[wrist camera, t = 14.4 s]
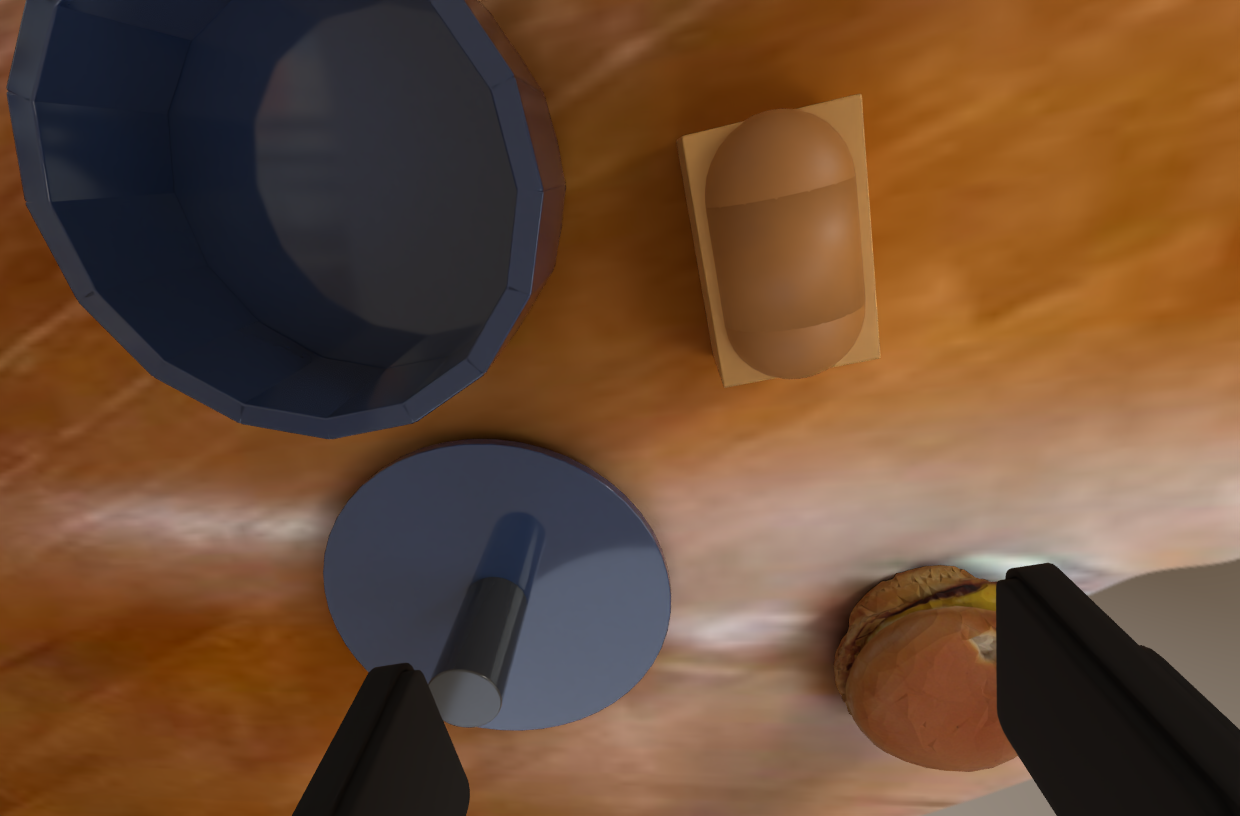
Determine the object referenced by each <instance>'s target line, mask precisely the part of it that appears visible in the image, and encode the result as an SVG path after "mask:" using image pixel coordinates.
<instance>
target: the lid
mask: <svg viewBox="0 0 1240 816" xmlns="http://www.w3.org/2000/svg"><path fill="white" fill-rule="evenodd" d="M323 576H324V589H325V595H326V599H327V603H328V607H329V611H330V613H331V616H332V618H333V621H334V623H335V626H336V628H337V630H338V632H339V633H340V635H341V637H342V639H343V641H344V642H345V644H346V646H347V647H348V648H349V650H350V651H351V652H352V654H353V655H354V656H355V658H356V659H357V660H358V661H359V662H360V664H361V665H362V666H363V667H364V668H365V669H366V670H367V671H368V672H370V671H371V670H372V669H373V668H375V667H380V666H386V665H393V664H399V663H409V664H410V665H412V667H413V669H414V670H420V671H421V672H422V673H423V674H424V676H425V679H426V681H427V684H428V686H429V688H430V691H431V693H432V695H433V698H434V700H435V703H436V705H437V707H438V710H439V712H440V715H441V717H442V719H443V721H445V722H447V723H449V724H451V725H454V726H459V727H467V728H471V727H479V728H487V729H496V730H534V729H544V728H549V727H554V726H560V725H564V724H567V723H570V722H574V721H577V720H580V719H583V718H585V717H587V716H590V715H592V714H595V713H597V712H599V711H601V710H602V709H604V708H606V707H608V706H609V705H611V704H613V703H614V702H616V701H617V700H618V699H620V698H621V697H622V696H624V695H625V694H626V693H628V692H629V691H630V690H631V689H632V688H633V687H634V686H635V685H636V684H637V683H638V682H639V681H640V680H641V679H642V678H643V676H644V675H645V674H646V672H647V671H648V670H649V668H650V667H651V666H652V664H653V663H654V661H655V659H656V657H657V655H658V653H659V652H660V650H661V648H662V645H663V642H664V639H665V636H666V633H667V631H668V625H669V619H670V613H671V587H670V580H669V573H668V567H667V564H666V561H665V558H664V555H663V551H662V548H661V546H660V544H659V542H658V540H657V538H656V536H655V534H654V532H653V530H652V529H651V527H650V526H649V524H648V523H647V521H646V520H645V518H644V517H643V515H642V514H641V512H640V511H639V510H638V509H637V508H636V507H635V506H634V504H633V503H632V502H631V501H630V500H629V499H628V498H627V497H626V496H625V495H624V494H623V493H622V492H621V491H620V490H618V489H617V488H616V487H615V486H614V485H613V484H612V483H610V482H609V481H608V480H607V479H605V478H604V477H602V476H601V475H599V474H598V473H596V472H595V471H593V470H592V469H590V468H589V467H587V466H585V465H583V464H581V463H579V462H577V461H575V460H573V459H571V458H569V457H567V456H565V455H562V454H559V453H556V452H554V451H551V450H548V449H545V448H542V447H538V446H534V445H530V444H526V443H521V442H516V441H507V440H499V439H466V440H458V441H450V442H444V443H440V444H436V445H432V446H428V447H424V448H421V449H419V450H416V451H414V452H411V453H409V454H406V455H404V456H401V457H400V458H398V459H396V460H395V461H393V462H391V463H389V464H388V465H386V466H384V467H383V468H381V469H380V470H379V471H378V472H376V473H375V474H374V475H373V476H371V477H370V478H369V479H368V480H366V481H365V482H364V484H363V485H362V486H361V487H360V488H359V489H358V490H357V491H356V492H355V493H354V495H353V496H352V497H351V498H350V499H349V500H348V501H347V503H346V505H345V506H344V508H343V509H342V511H341V512H340V514H339V515H338V517H337V519H336V521H335V523H334V526H333V528H332V530H331V532H330V535H329V538H328V542H327V546H326V550H325V556H324V569H323Z"/></svg>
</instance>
